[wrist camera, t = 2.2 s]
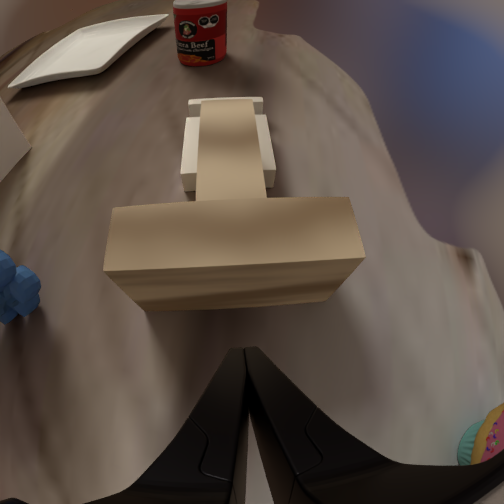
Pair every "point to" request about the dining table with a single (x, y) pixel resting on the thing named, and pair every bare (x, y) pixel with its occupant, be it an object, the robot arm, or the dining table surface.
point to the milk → (10, 142)
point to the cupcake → (483, 439)
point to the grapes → (17, 289)
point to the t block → (232, 232)
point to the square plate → (88, 50)
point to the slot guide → (193, 136)
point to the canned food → (200, 31)
